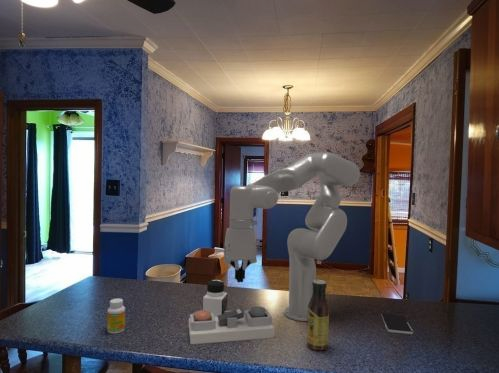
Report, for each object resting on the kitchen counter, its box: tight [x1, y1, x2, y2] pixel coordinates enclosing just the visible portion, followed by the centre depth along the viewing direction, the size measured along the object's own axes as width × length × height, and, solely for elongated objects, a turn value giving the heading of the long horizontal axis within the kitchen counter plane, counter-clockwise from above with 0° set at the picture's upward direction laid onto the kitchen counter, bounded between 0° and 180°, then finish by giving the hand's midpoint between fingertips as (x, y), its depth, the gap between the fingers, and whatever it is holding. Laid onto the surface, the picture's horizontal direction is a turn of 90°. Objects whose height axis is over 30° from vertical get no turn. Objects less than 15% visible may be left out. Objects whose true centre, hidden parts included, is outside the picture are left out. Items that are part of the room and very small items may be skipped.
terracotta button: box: [194, 309, 211, 322], centre depth 113 cm, size 5×5×2 cm
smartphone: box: [380, 312, 414, 335], centre depth 124 cm, size 8×1×15 cm
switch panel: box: [188, 308, 276, 345], centre depth 115 cm, size 26×12×6 cm, turn 102°
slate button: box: [249, 305, 266, 318], centre depth 117 cm, size 5×5×2 cm
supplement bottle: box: [106, 298, 126, 335], centre depth 115 cm, size 5×5×10 cm
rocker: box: [217, 307, 244, 325], centre depth 115 cm, size 8×4×2 cm, turn 102°
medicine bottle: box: [202, 279, 228, 317], centre depth 130 cm, size 7×7×12 cm
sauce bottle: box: [306, 279, 330, 351], centre depth 106 cm, size 7×6×20 cm
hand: (239, 281), depth 115 cm, fingers closed
